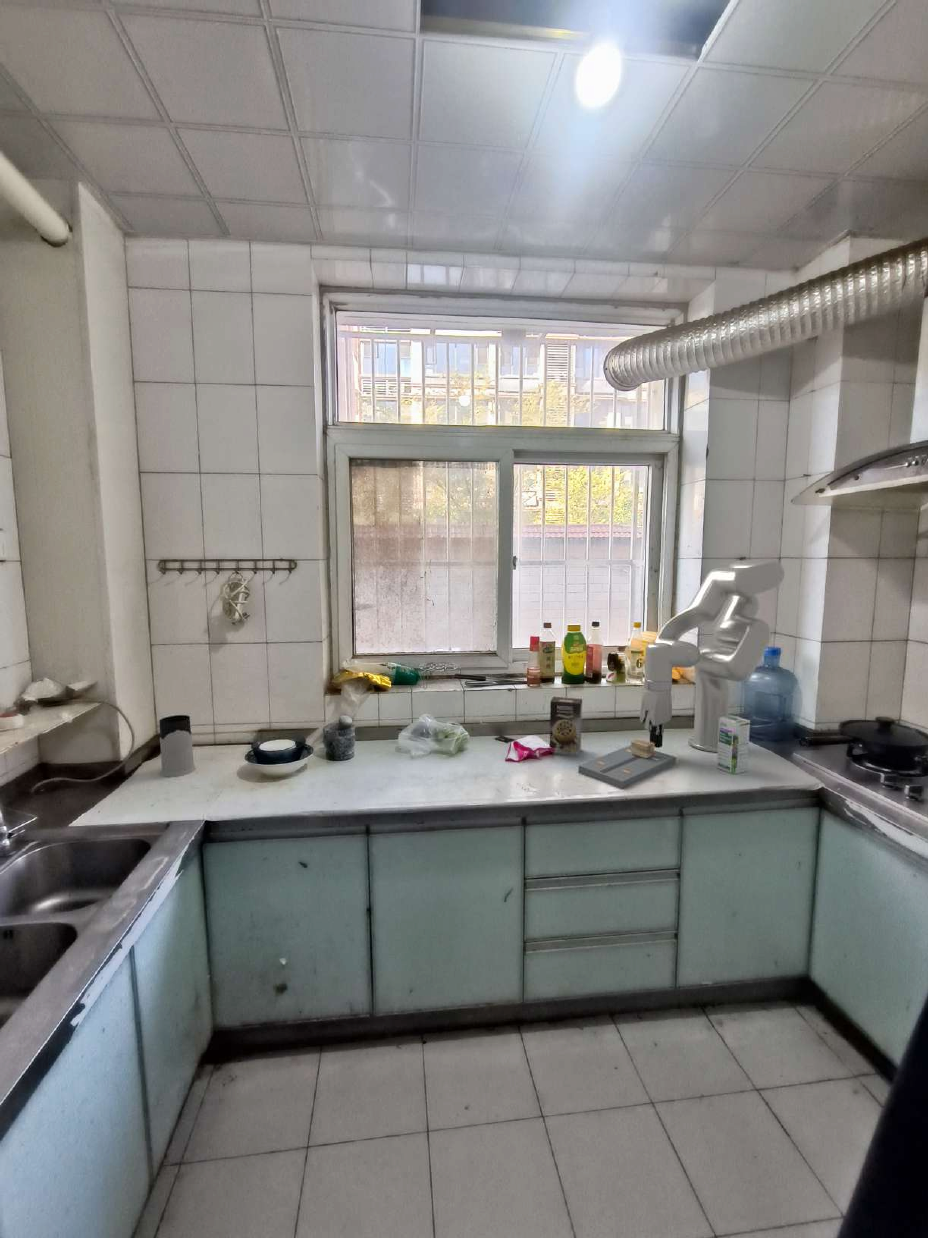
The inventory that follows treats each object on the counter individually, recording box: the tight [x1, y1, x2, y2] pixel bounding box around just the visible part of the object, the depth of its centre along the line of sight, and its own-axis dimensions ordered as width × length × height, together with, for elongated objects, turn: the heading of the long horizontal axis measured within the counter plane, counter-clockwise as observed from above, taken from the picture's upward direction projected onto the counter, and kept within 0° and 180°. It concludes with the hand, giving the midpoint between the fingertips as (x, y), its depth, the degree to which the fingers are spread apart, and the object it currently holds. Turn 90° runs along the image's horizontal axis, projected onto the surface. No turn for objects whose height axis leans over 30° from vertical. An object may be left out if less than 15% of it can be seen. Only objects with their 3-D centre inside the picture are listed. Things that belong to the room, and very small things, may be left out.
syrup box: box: [716, 715, 751, 775], centre depth 148 cm, size 6×6×14 cm
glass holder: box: [159, 714, 196, 778], centre depth 152 cm, size 9×14×15 cm, turn 36°
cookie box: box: [549, 696, 583, 757], centre depth 163 cm, size 9×6×16 cm
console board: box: [577, 744, 677, 790], centre depth 150 cm, size 26×14×2 cm, turn 129°
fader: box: [630, 738, 656, 758], centre depth 154 cm, size 4×5×4 cm
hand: (655, 746), depth 159 cm, fingers closed
